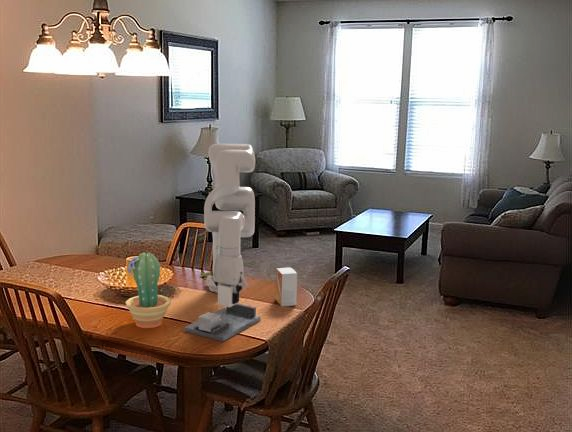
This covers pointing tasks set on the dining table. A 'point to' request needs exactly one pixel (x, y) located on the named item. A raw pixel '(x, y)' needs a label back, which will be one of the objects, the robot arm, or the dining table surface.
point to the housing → (225, 295)
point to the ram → (209, 321)
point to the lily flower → (207, 274)
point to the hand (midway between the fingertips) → (228, 301)
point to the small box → (286, 286)
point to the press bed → (228, 322)
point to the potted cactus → (147, 292)
